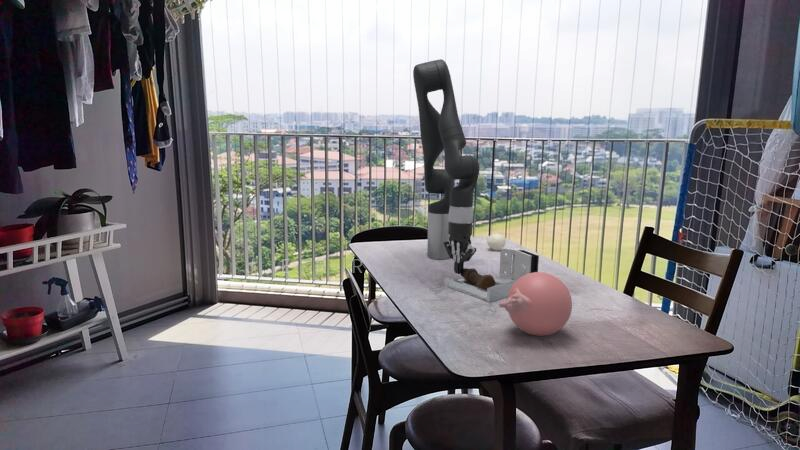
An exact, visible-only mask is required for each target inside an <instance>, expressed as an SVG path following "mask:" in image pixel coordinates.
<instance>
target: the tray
mask: <svg viewBox="0 0 800 450" xmlns="http://www.w3.org/2000/svg"><path fill="white" fill-rule="evenodd" d="M494 280H495V282H496V284H495V286H492V287H489V288H487V291H486V290H484V289H481V288H479V287H478V285H477V284H475V283H467V282H466V281H465V279H464V277H462V278H459V279H455V278H452V277H449V276H445V277H444V282H443V283H444V286H445V287H447V288H450V289H452V290H456V291H458V292H461V293H464V294H466V295H469V296H472V297H475V298H478V299H481V300H483V301H486V302H488V303H491V302H495V301H497V300H502V299H506V298H507V297H508V293H509V291H510V289H511V287H512V285H513V284H514V283H515V282H516V281H515V280H510V281H507V282H503V281H500V280H497V279H494Z"/></svg>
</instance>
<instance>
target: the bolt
mask: <svg viewBox="0 0 800 450" xmlns="http://www.w3.org/2000/svg"><path fill="white" fill-rule="evenodd" d="M460 276H461V277H462V278H464V279H465V281H466V282H467V283H475V284H477V285H478V287H479V288H481V289H484V290H486V291H487V288H489V287H492V286H495V284H496V282H495V280H496V279H495V277H493V275H491V274H483V275H482V274H479V273H478V271H477V269H475V268H473V267H472V268H465V267H464V269H463V273H462V274H460Z"/></svg>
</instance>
